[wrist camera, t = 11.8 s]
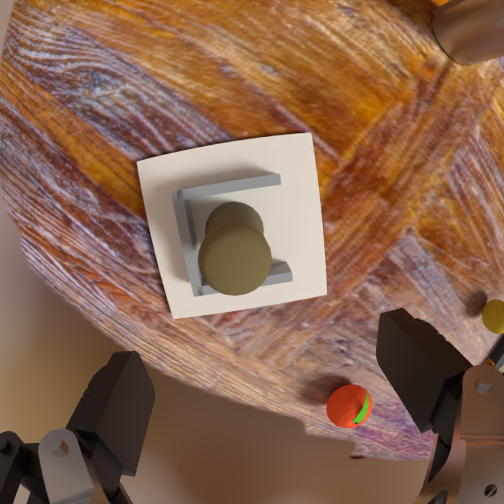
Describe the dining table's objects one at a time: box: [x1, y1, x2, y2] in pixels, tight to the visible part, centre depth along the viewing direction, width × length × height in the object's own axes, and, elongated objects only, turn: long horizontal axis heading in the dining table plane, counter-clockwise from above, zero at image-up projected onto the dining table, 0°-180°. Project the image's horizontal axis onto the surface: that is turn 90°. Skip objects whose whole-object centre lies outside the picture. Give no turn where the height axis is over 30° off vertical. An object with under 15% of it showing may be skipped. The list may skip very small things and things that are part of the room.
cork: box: [198, 202, 272, 296], centre depth 23 cm, size 6×6×11 cm
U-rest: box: [137, 133, 327, 319], centre depth 28 cm, size 18×18×4 cm
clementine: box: [326, 384, 372, 428], centre depth 34 cm, size 8×7×7 cm
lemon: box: [482, 300, 504, 334], centre depth 32 cm, size 6×6×8 cm
